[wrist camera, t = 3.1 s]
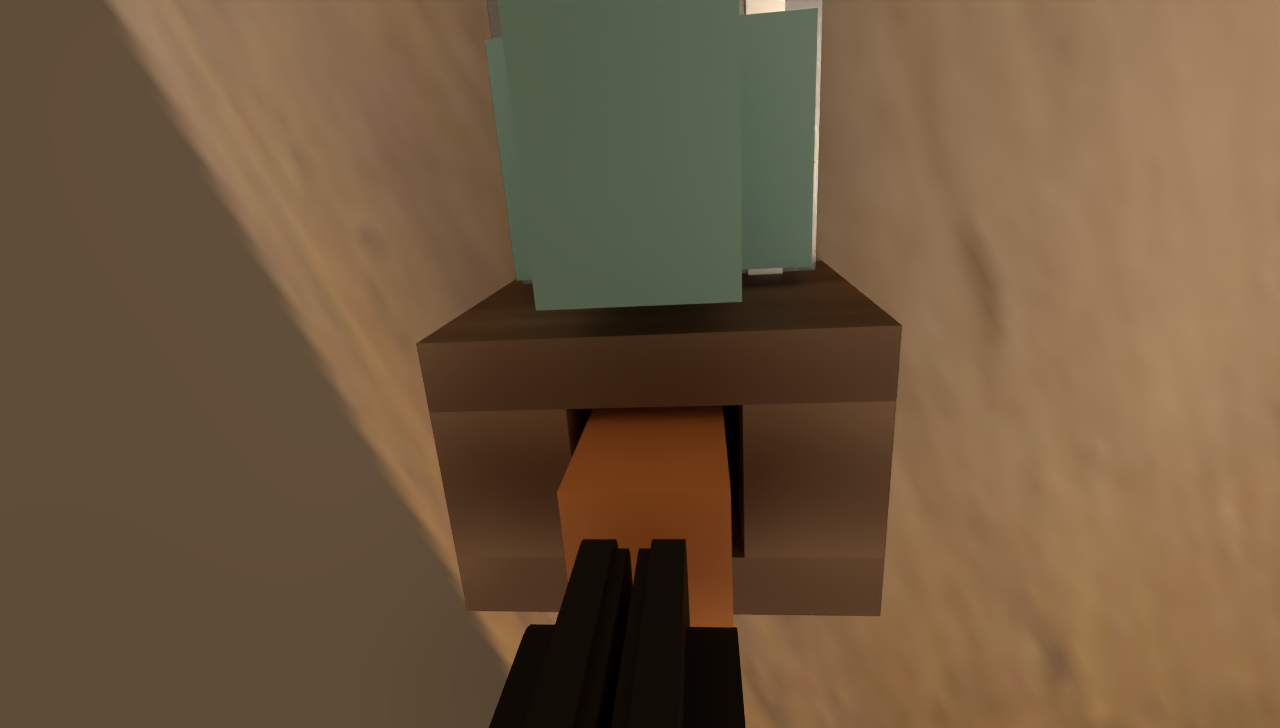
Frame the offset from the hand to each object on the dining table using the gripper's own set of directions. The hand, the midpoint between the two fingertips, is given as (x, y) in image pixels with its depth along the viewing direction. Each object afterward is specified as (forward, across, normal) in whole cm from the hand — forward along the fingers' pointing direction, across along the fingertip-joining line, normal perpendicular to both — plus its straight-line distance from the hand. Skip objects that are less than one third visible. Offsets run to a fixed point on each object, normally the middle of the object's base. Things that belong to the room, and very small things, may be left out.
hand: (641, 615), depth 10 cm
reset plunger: (+10, 0, 0) cm, 10 cm away
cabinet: (+12, 0, 0) cm, 12 cm away
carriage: (+10, 0, -7) cm, 12 cm away
